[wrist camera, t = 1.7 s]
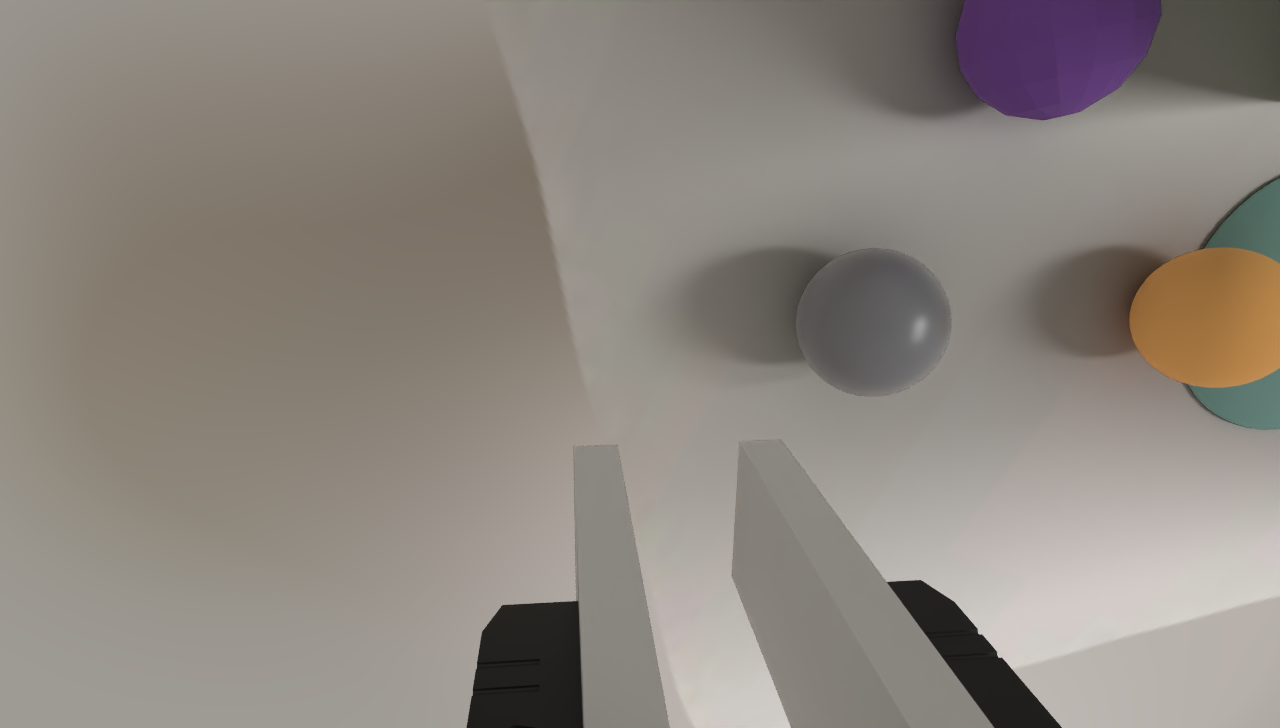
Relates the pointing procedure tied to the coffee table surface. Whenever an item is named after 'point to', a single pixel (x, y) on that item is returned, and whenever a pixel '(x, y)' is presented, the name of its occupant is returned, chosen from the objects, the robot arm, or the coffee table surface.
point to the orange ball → (1210, 317)
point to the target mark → (1276, 229)
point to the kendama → (1051, 51)
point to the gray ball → (873, 322)
